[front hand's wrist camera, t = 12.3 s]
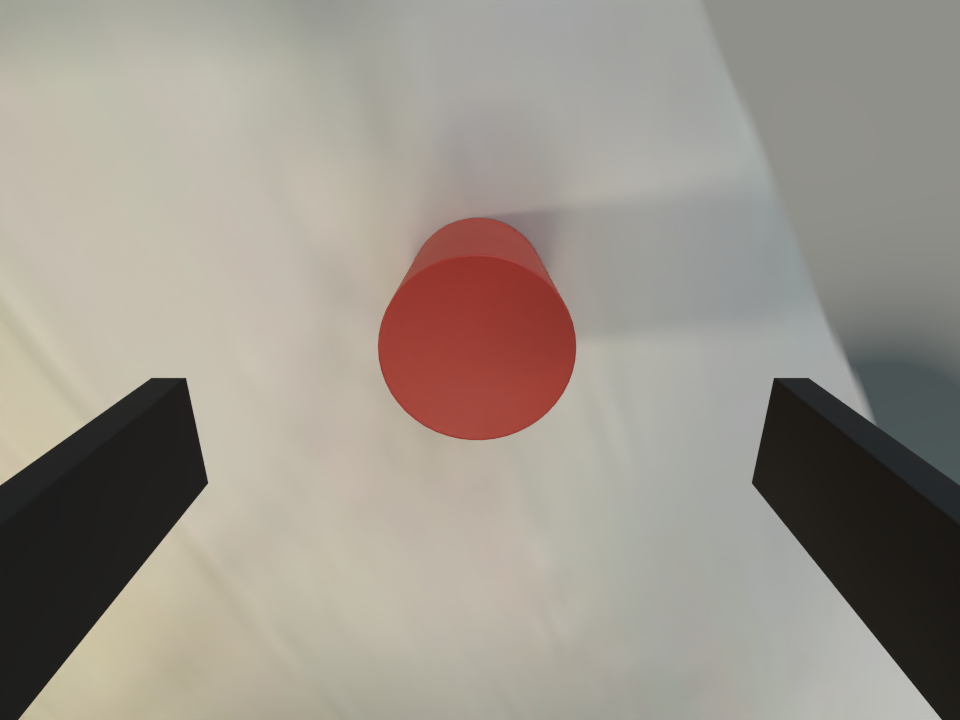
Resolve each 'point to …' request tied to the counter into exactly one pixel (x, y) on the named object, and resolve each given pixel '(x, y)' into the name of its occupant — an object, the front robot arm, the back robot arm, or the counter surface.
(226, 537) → the counter surface
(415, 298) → the canister
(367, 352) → the counter surface
